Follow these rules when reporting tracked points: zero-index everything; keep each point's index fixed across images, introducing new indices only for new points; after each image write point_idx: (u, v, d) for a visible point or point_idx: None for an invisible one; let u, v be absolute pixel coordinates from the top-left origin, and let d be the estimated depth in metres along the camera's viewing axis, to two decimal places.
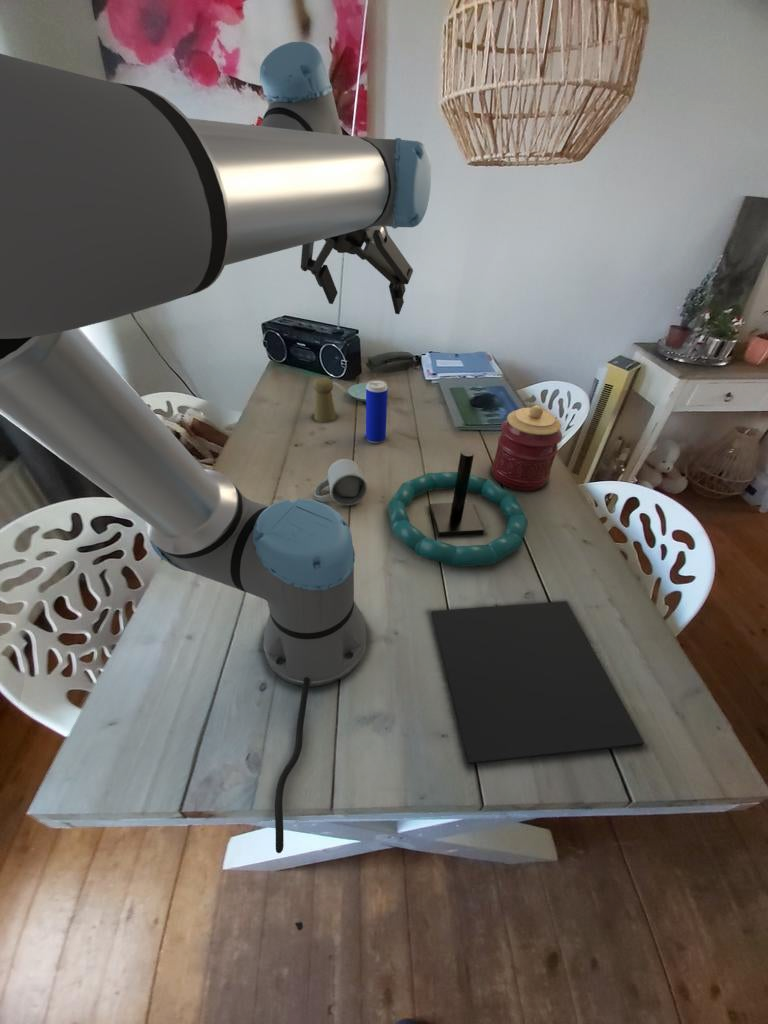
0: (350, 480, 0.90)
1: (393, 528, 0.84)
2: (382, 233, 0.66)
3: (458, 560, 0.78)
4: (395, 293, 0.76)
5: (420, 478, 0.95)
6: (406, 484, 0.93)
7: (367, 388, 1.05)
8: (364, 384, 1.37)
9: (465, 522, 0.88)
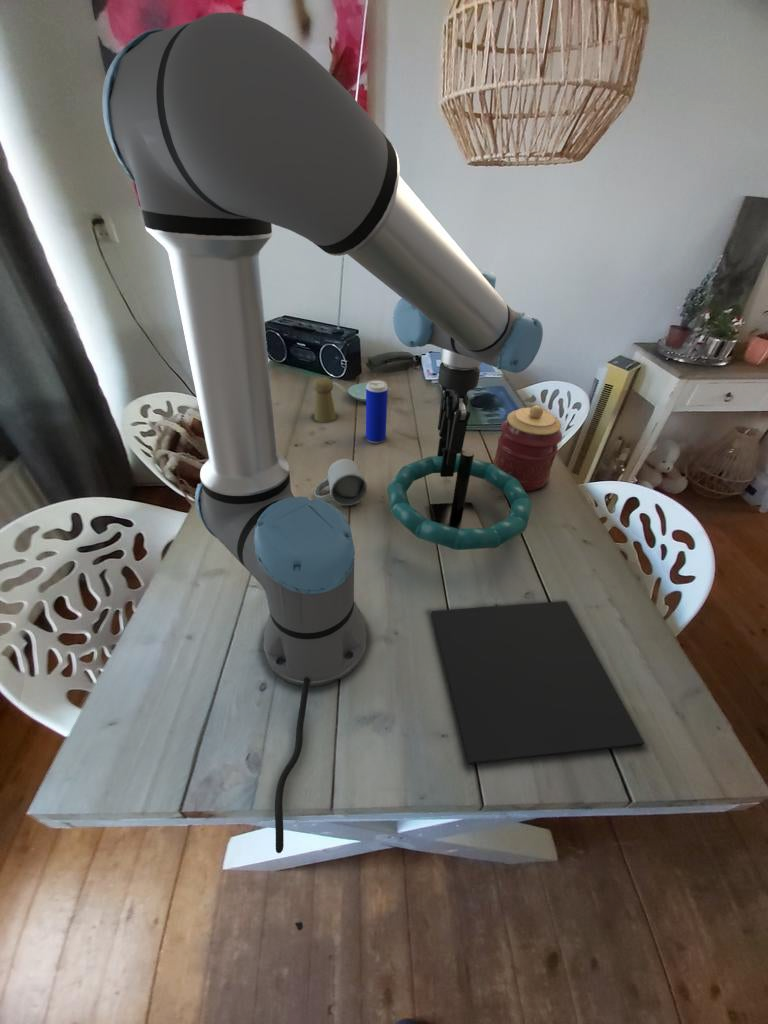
0: (350, 480, 0.90)
1: (393, 511, 0.81)
2: (462, 416, 0.81)
3: (460, 543, 0.75)
4: (445, 458, 0.91)
5: (421, 461, 0.92)
6: (406, 467, 0.90)
7: (367, 388, 1.05)
8: (364, 384, 1.37)
9: (465, 522, 0.88)
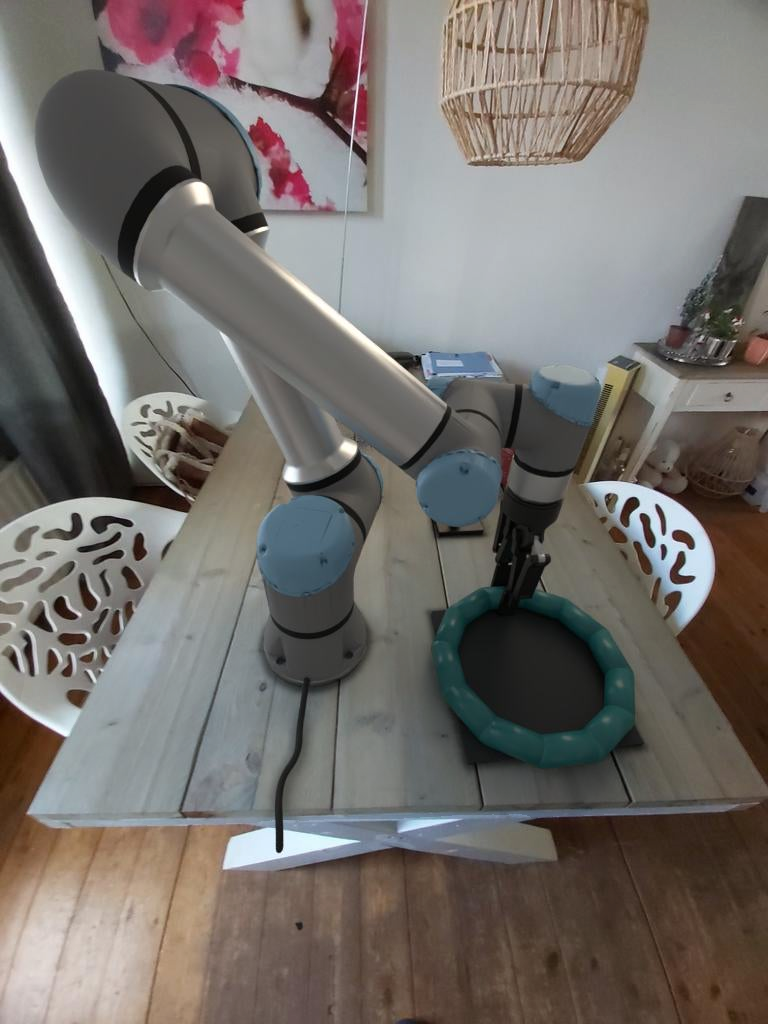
0: None
1: (444, 694, 0.58)
2: (538, 564, 0.57)
3: (548, 764, 0.51)
4: (506, 597, 0.67)
5: (473, 599, 0.69)
6: (455, 611, 0.67)
7: None
8: None
9: None
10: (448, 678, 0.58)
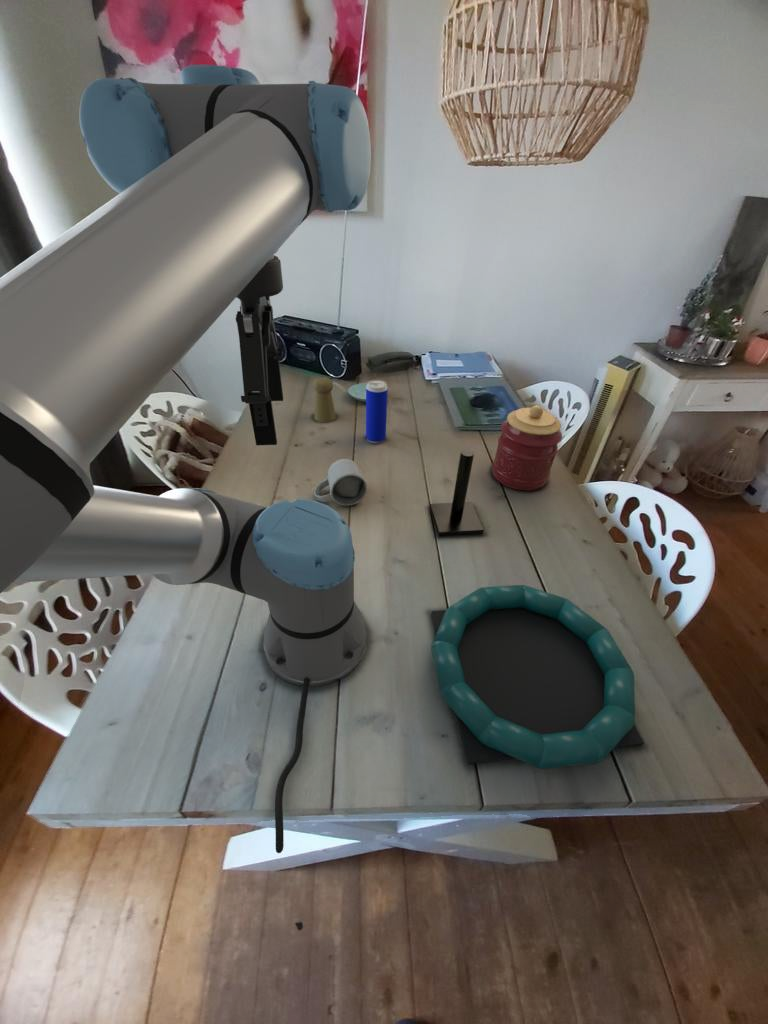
0: (350, 480, 0.90)
1: (444, 694, 0.58)
2: (245, 323, 0.50)
3: (548, 764, 0.51)
4: (253, 413, 0.56)
5: (473, 599, 0.69)
6: (455, 610, 0.67)
7: (367, 388, 1.05)
8: (364, 384, 1.37)
9: (465, 522, 0.88)
10: (448, 678, 0.58)
